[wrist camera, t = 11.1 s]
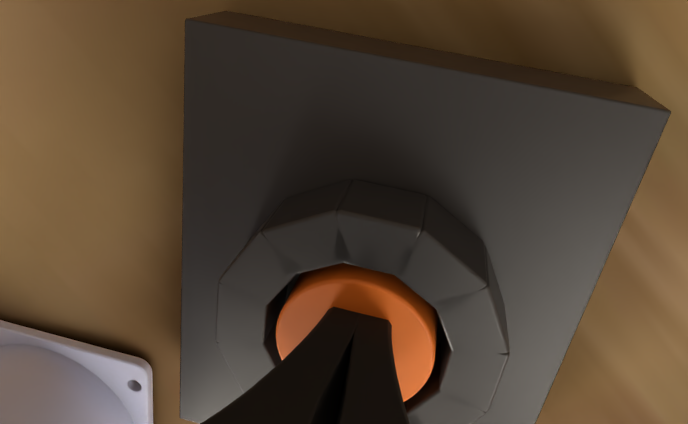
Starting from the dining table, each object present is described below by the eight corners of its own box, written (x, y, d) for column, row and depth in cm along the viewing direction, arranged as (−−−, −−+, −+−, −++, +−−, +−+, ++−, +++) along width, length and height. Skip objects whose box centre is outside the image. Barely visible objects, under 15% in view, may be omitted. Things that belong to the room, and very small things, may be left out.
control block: (494, 447, 17) (502, 571, 14) (208, 370, 19) (148, 466, 15) (638, 87, 12) (711, 138, 9) (225, 10, 13) (137, 27, 10)
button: (420, 376, 14) (415, 428, 12) (289, 342, 14) (268, 389, 13) (453, 260, 12) (452, 304, 11) (304, 226, 13) (282, 262, 11)
